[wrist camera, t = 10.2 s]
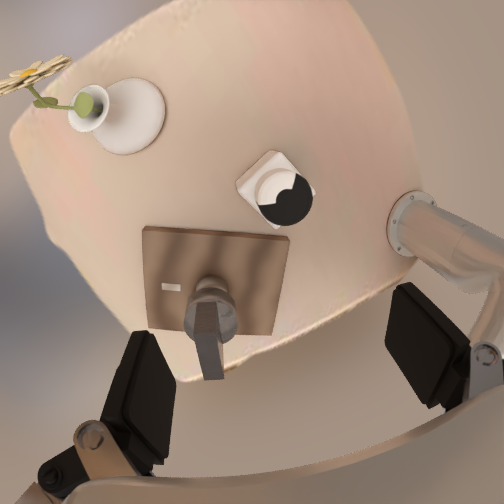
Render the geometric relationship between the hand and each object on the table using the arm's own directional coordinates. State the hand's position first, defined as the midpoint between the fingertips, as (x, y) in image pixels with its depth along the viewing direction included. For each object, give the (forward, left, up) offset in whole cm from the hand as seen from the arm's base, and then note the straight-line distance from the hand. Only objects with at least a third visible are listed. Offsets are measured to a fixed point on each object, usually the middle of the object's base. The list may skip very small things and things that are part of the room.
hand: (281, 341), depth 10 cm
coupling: (+2, +17, -25) cm, 30 cm away
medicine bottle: (-5, -1, -32) cm, 32 cm away
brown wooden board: (+2, +16, -32) cm, 36 cm away
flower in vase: (+17, -10, -32) cm, 38 cm away
